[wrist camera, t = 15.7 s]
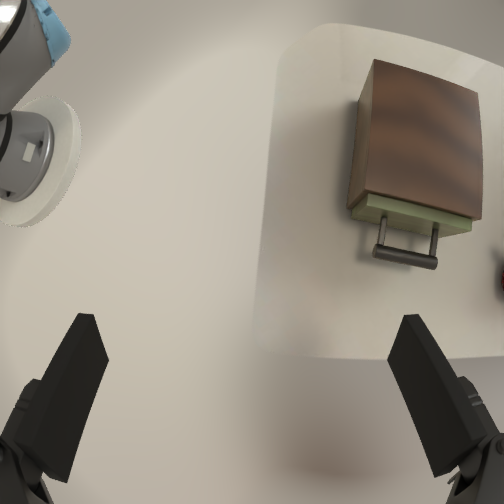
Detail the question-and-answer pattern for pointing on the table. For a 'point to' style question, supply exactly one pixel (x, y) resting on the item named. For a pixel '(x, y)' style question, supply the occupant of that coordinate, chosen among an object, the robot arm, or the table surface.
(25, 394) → the robot arm
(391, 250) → the drawer
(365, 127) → the cabinet
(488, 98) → the table surface
